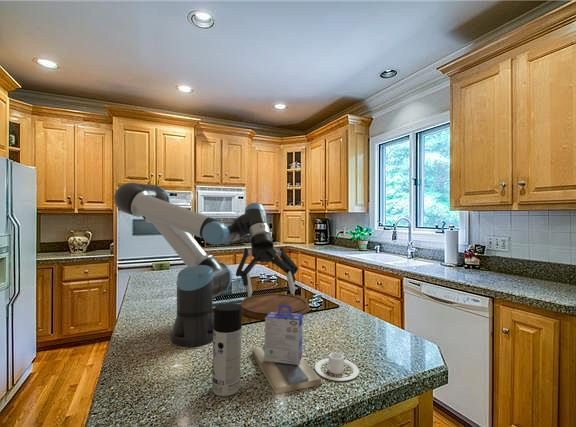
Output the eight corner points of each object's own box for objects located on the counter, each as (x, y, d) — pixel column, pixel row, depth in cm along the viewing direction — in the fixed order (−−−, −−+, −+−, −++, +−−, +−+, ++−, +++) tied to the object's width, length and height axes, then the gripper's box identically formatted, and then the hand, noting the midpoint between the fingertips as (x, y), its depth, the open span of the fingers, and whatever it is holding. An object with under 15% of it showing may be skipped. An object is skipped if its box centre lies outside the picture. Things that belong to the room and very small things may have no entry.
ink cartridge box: (302, 356, 86) (303, 305, 86) (299, 366, 80) (300, 311, 80) (269, 352, 88) (269, 302, 88) (263, 361, 82) (264, 308, 82)
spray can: (214, 381, 76) (215, 302, 76) (241, 381, 77) (242, 302, 77) (209, 398, 70) (211, 311, 70) (239, 397, 70) (241, 311, 70)
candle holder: (338, 356, 92) (338, 342, 92) (368, 375, 82) (368, 359, 81) (306, 367, 85) (306, 351, 85) (334, 388, 75) (334, 371, 75)
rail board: (275, 394, 72) (275, 384, 72) (252, 353, 92) (252, 345, 92) (321, 384, 76) (321, 375, 76) (288, 347, 96) (289, 340, 96)
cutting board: (321, 305, 142) (321, 300, 142) (284, 327, 115) (284, 320, 115) (266, 294, 159) (266, 289, 159) (222, 311, 132) (222, 305, 132)
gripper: (226, 231, 99) (232, 289, 85) (297, 232, 108) (313, 284, 94) (223, 246, 104) (229, 302, 90) (291, 245, 113) (306, 296, 99)
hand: (272, 293), depth 92 cm, fingers open, 13 cm apart
